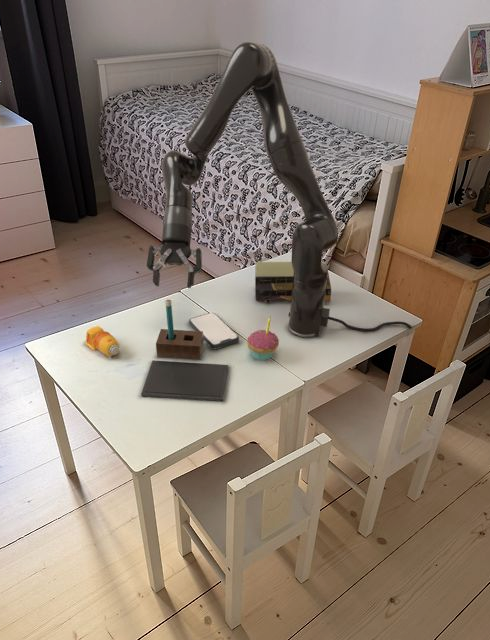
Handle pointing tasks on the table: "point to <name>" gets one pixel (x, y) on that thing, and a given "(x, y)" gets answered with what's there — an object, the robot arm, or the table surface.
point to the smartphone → (214, 330)
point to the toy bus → (278, 282)
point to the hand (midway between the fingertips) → (172, 286)
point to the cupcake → (263, 343)
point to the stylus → (169, 319)
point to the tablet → (185, 380)
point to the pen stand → (180, 344)
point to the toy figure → (101, 341)
